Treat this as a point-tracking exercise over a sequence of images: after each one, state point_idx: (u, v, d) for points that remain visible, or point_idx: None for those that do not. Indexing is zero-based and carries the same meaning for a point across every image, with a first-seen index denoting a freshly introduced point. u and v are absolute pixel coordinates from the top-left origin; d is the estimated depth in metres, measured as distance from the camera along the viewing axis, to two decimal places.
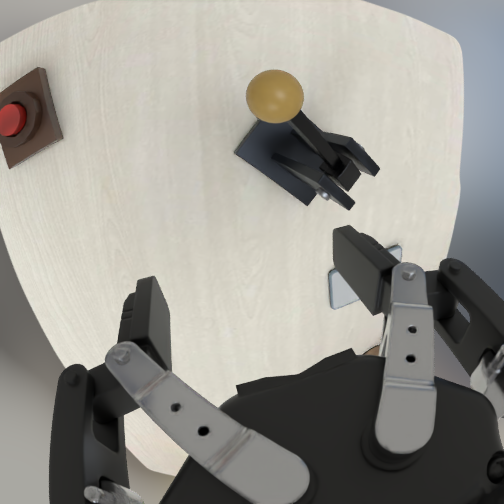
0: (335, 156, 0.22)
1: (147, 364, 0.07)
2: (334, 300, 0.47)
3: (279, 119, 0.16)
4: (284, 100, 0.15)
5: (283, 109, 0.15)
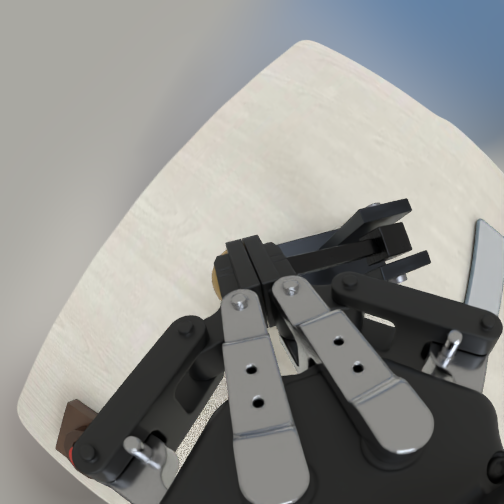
0: (363, 243, 0.18)
1: (257, 319, 0.08)
2: None
3: None
4: None
5: None
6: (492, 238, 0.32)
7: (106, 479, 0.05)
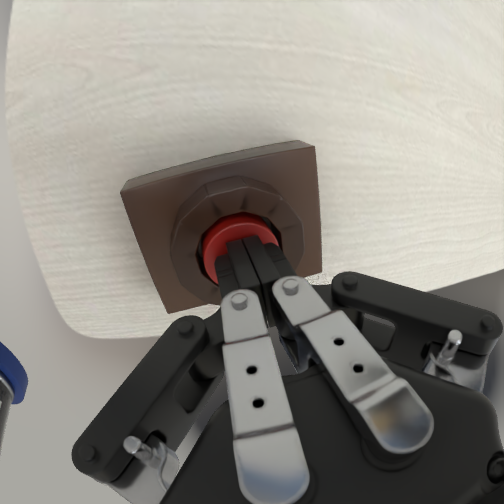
0: None
1: (257, 319, 0.08)
2: None
3: None
4: None
5: None
6: None
7: (106, 479, 0.05)
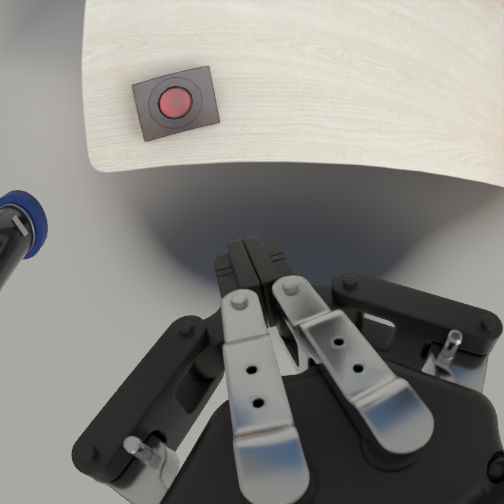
0: None
1: (257, 319, 0.08)
2: None
3: None
4: None
5: None
6: None
7: (106, 479, 0.05)
